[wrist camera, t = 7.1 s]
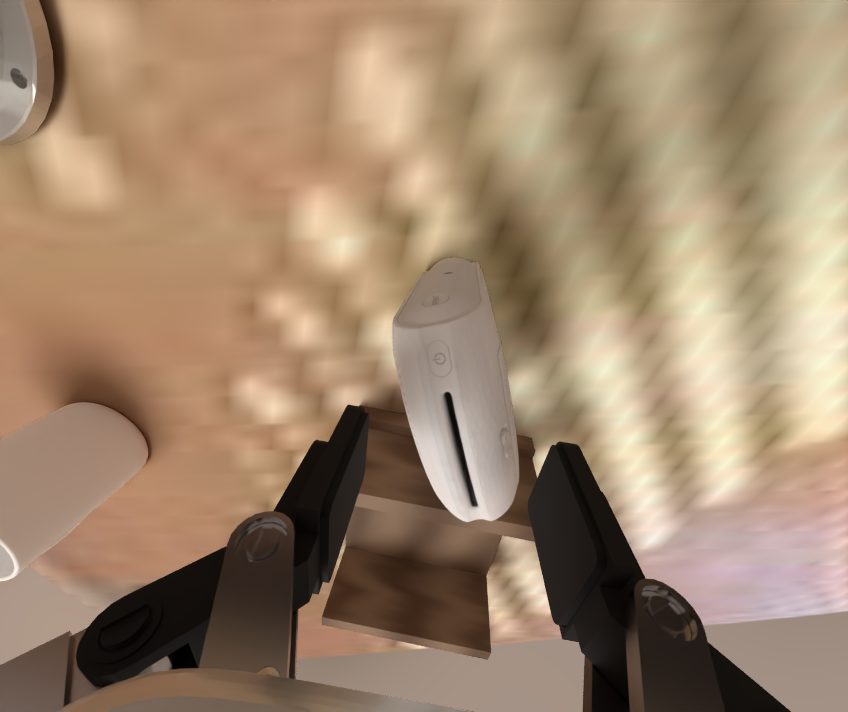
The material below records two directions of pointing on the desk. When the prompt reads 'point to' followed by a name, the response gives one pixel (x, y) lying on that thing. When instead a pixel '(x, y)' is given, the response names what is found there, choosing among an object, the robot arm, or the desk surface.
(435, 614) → the walnut rack
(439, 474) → the photo printer
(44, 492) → the mug
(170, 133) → the desk surface
